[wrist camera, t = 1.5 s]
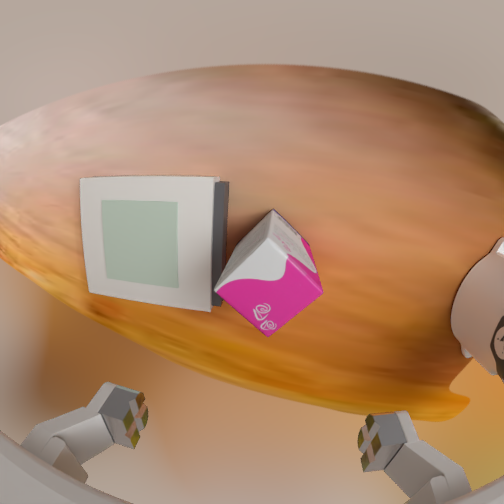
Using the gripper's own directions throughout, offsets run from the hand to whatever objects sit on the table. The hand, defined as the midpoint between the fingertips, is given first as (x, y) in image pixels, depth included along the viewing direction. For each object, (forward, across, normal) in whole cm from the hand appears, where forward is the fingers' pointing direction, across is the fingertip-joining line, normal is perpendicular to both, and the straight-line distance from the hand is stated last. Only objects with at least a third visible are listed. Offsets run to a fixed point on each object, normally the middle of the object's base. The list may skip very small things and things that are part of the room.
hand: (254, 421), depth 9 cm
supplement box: (+23, 0, 0) cm, 23 cm away
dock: (+23, +14, 0) cm, 27 cm away
